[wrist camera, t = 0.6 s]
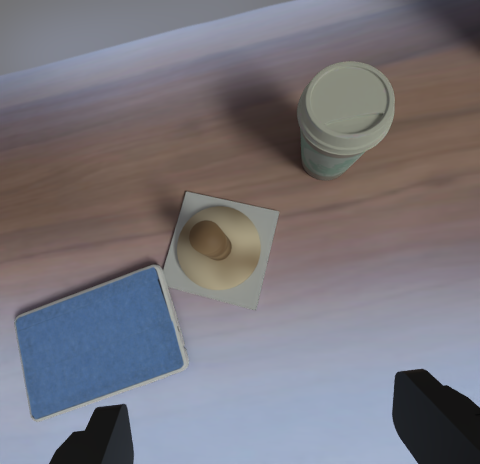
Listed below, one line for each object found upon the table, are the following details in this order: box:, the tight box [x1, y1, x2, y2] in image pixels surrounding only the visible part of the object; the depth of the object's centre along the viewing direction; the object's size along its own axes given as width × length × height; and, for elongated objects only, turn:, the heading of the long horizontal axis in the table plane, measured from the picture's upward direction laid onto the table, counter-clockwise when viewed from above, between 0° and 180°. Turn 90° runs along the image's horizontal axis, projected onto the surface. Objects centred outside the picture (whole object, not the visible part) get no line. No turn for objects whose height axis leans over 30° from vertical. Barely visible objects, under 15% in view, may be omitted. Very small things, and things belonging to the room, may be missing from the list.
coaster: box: [163, 191, 279, 310], centre depth 37 cm, size 12×12×1 cm
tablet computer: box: [14, 265, 189, 422], centre depth 35 cm, size 19×13×1 cm, turn 110°
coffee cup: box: [297, 61, 395, 180], centre depth 32 cm, size 9×9×12 cm
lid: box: [177, 206, 261, 290], centre depth 33 cm, size 10×10×8 cm
